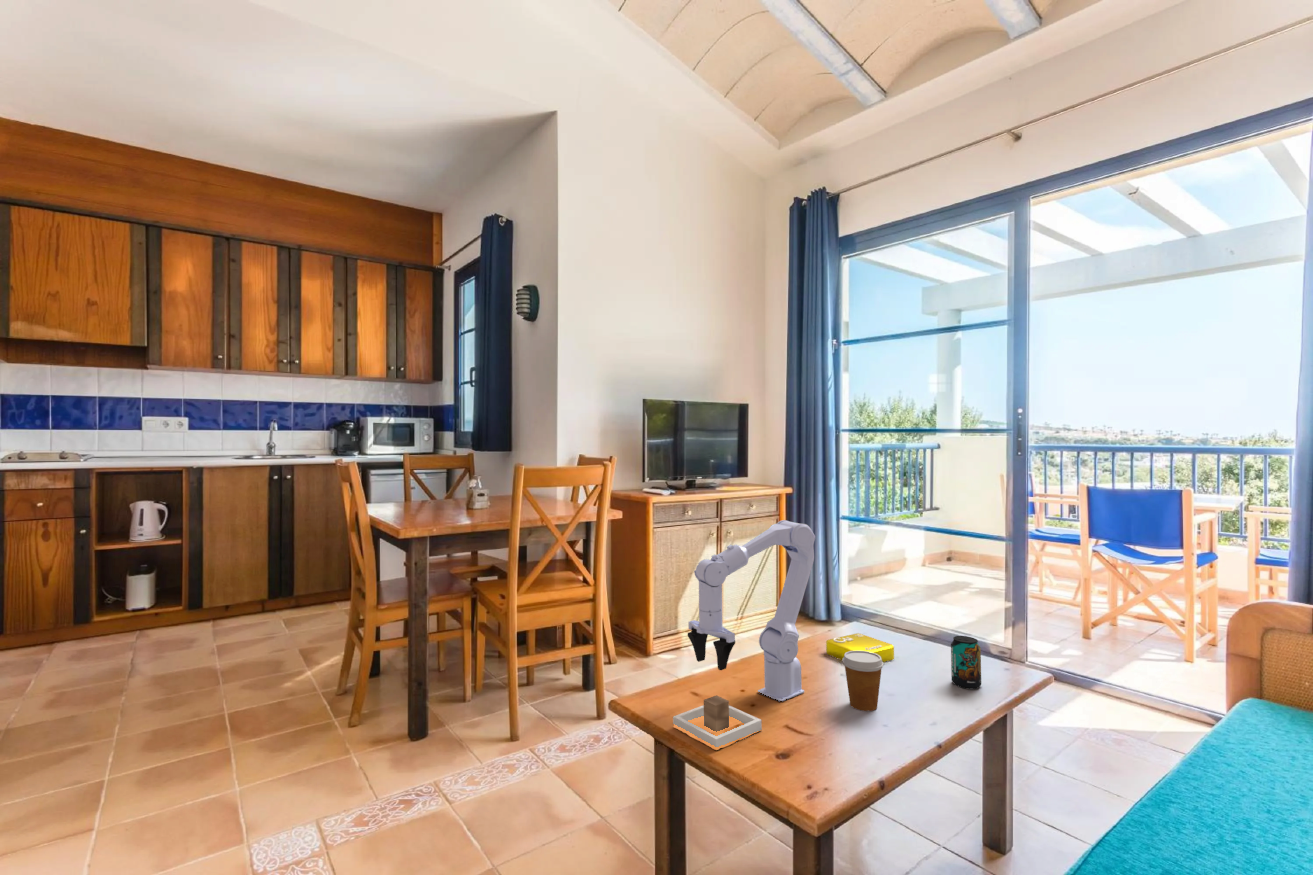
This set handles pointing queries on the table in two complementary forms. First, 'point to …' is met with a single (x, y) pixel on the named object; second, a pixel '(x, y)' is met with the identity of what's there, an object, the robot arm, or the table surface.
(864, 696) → the disposable coffee cup
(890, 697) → the table surface
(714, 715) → the brown rectangular block
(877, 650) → the yellow printed box
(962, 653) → the beverage can
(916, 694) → the table surface
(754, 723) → the white tray
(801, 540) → the robot arm
